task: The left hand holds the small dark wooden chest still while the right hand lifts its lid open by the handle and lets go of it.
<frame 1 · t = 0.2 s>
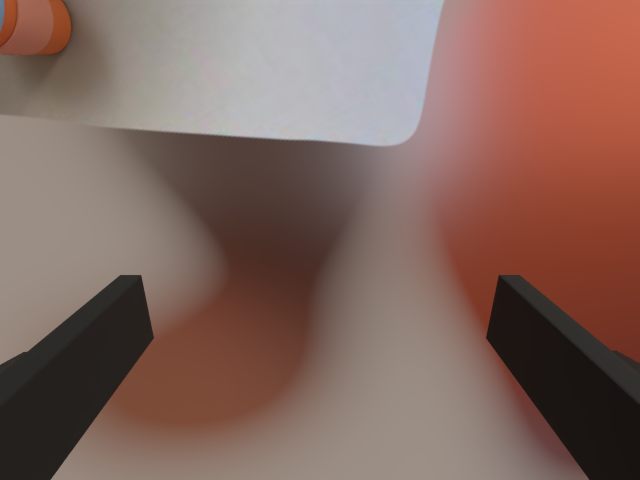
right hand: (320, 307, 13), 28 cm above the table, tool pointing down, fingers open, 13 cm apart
cup with straw: (41, 20, 34), on the table
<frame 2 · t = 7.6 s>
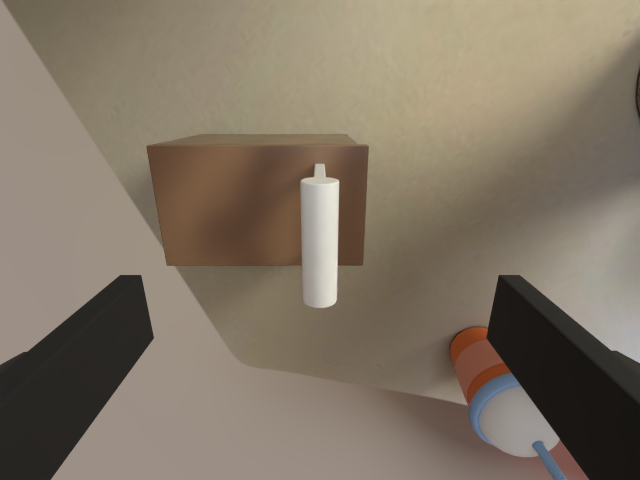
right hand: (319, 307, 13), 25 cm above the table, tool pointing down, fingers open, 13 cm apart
lid: (252, 224, 22), point 15 cm above the table, hinge at 0.0°
cup with straw: (473, 345, 44), on the table
chest: (276, 179, 37), on the table
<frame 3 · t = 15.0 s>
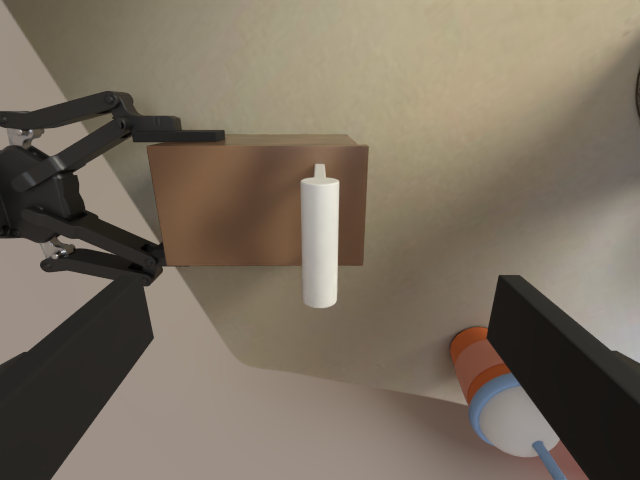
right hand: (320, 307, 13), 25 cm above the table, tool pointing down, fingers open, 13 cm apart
left hand: (226, 195, 30), fingers closed on chest, 9 cm apart
lid: (252, 224, 22), point 15 cm above the table, hinge at 0.0°
cup with straw: (473, 345, 44), on the table
chest: (276, 179, 37), on the table, touching left hand
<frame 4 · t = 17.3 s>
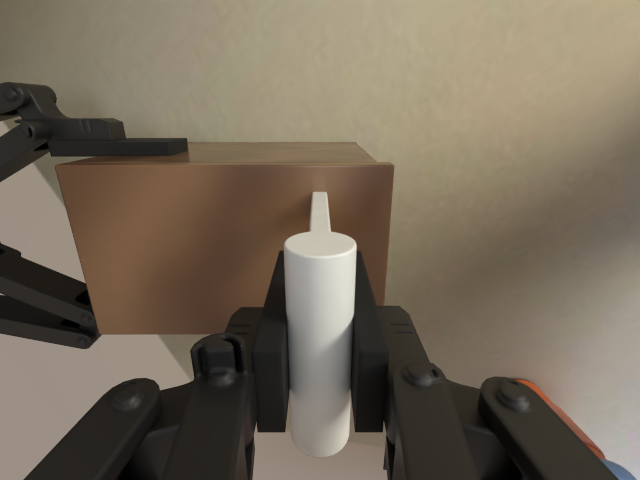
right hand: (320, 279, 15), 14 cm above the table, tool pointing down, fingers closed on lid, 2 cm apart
lid: (212, 293, 14), point 15 cm above the table, hinge at -0.1°, touching right hand
cup with straw: (509, 400, 36), on the table
chest: (263, 200, 28), on the table, touching left hand
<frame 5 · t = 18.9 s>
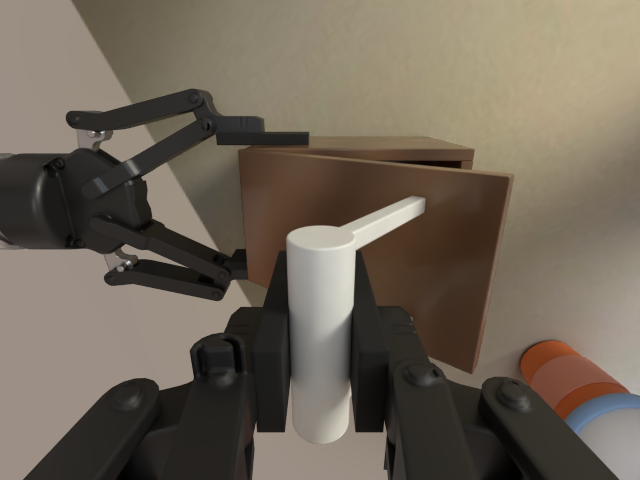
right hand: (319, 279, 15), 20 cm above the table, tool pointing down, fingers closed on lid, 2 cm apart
left hand: (309, 202, 28), fingers closed on chest, 9 cm apart
lid: (293, 267, 16), point 19 cm above the table, hinge at 36.9°, touching right hand
cup with straw: (544, 360, 42), on the table
chest: (347, 185, 34), on the table, touching left hand
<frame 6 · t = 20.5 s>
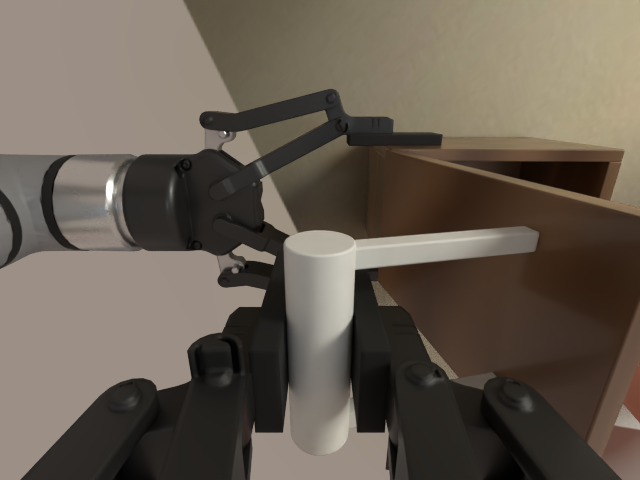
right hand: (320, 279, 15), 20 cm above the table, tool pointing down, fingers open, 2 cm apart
left hand: (428, 203, 27), fingers closed on chest, 9 cm apart
lid: (373, 275, 15), point 20 cm above the table, hinge at 76.0°
cup with straw: (624, 361, 41), on the table
chest: (444, 185, 34), on the table, touching left hand
when the left hand's fingers open (7 cm above the table, at t = 24.3 s): chest stays where it is, on the table.
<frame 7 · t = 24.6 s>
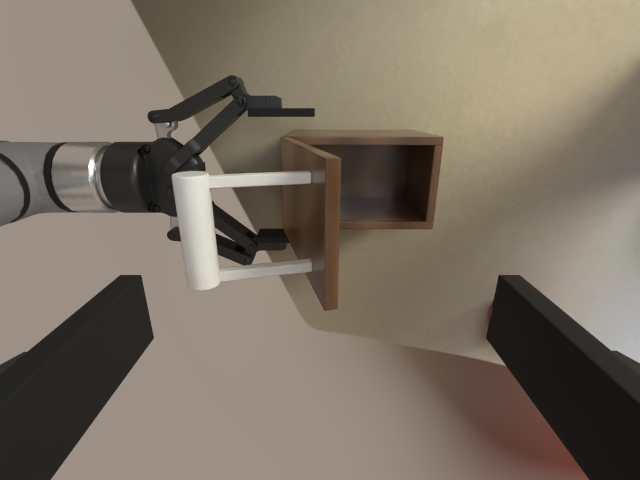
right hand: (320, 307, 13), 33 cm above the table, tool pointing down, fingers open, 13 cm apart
left hand: (315, 177, 37), fingers open, 13 cm apart
lid: (250, 209, 26), point 20 cm above the table, hinge at 75.2°
chest: (352, 167, 44), on the table
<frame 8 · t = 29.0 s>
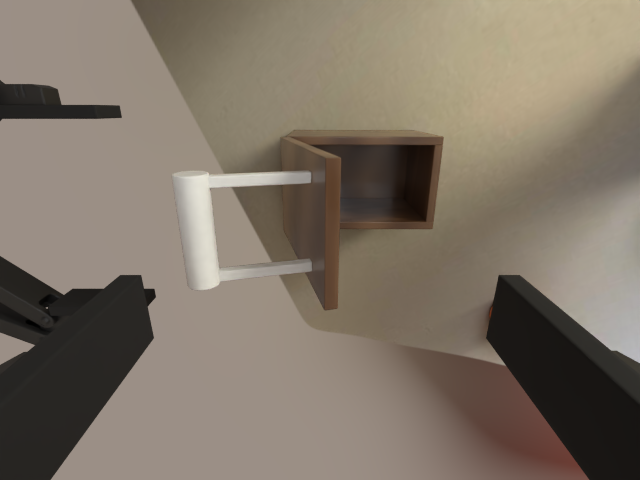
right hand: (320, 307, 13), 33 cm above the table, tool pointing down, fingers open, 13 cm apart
lid: (250, 209, 26), point 20 cm above the table, hinge at 75.2°
chest: (352, 167, 44), on the table
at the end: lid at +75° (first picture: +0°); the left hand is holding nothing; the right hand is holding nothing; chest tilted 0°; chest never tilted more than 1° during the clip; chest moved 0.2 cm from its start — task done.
